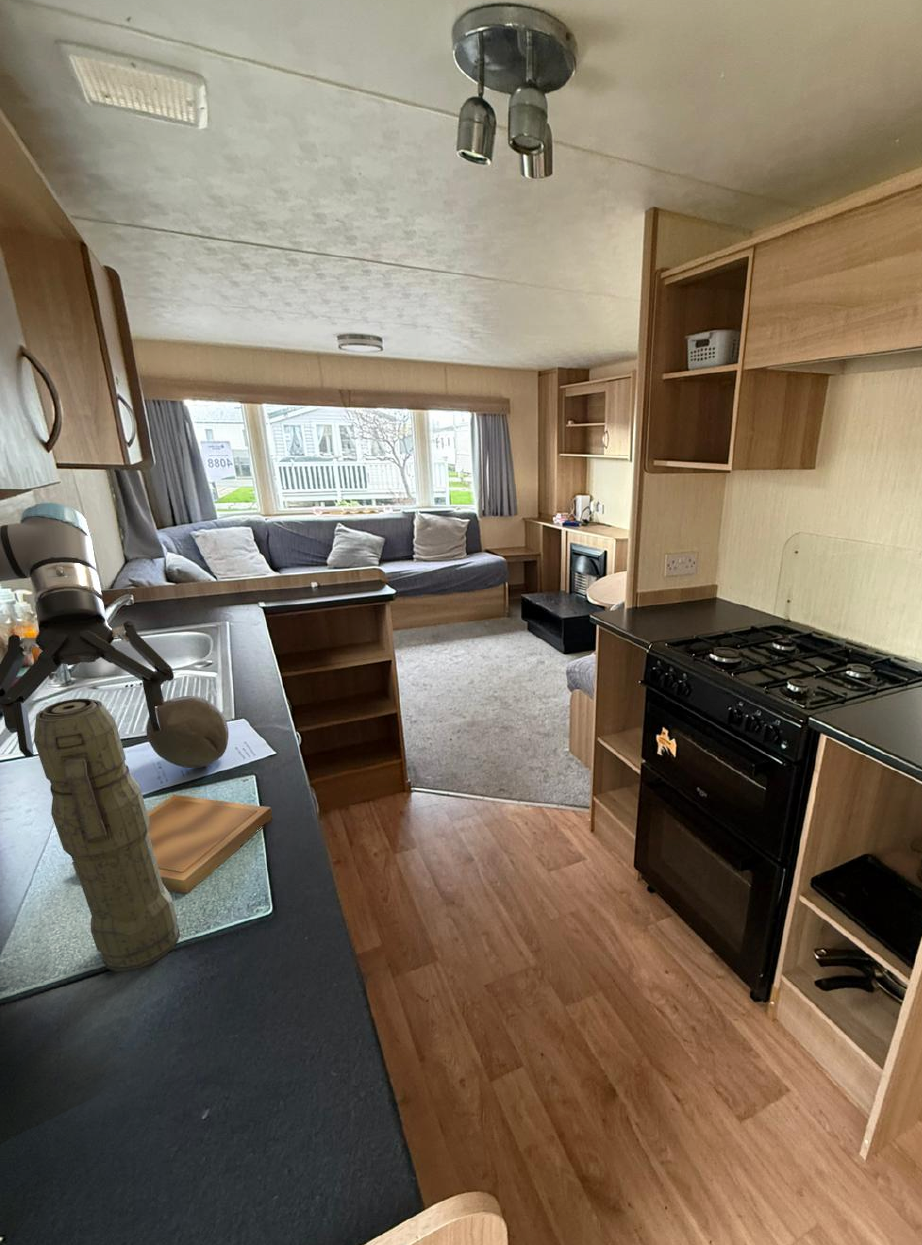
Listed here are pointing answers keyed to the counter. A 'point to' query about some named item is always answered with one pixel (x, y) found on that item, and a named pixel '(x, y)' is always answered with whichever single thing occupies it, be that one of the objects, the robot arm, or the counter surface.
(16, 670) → the robot arm
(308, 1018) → the counter surface
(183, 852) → the oak board
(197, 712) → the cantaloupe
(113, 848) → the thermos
